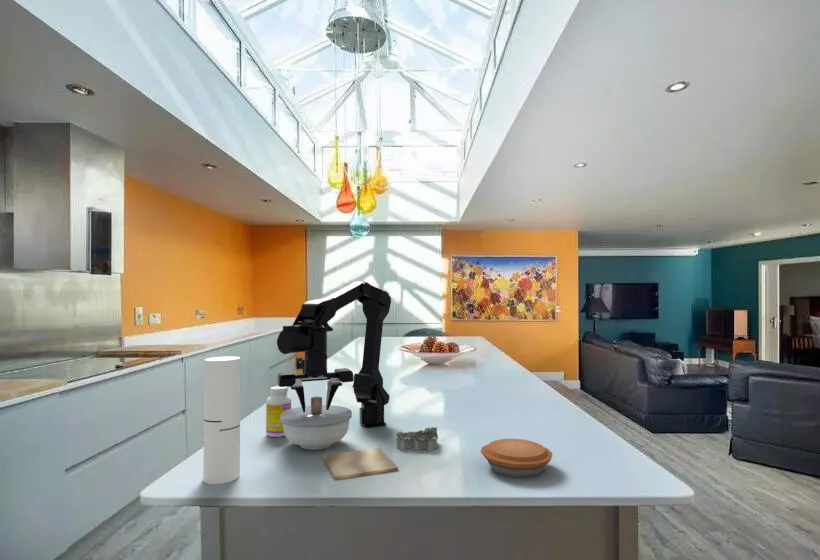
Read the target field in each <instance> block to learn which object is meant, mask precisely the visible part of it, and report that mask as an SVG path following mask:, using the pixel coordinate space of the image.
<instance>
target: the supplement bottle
mask: <svg viewBox="0 0 820 560" xmlns="http://www.w3.org/2000/svg"><path fill="white" fill-rule="evenodd" d="M269 389H270V390H269V393H270V396H268V398H266V411H265V412H266V414H265V415H266V417H265V418H266V419H265V421H266V424H265V429H266V430H265V432H266V433H265V434H266V435H267V437H270V438H271V437H272V438H282V436H283V437H286V436H285V435H284V431H283V423H282V422H281V421H280V415H281V414H282V413H283V412H285V411H287V410H290V409H292V398H291V396H289V395H288V391H289V390H288V389H289V387H279V385H276V386H271V387H270V388H269Z"/></svg>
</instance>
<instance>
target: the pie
mask: <svg viewBox="0 0 820 560" xmlns="http://www.w3.org/2000/svg"><path fill="white" fill-rule="evenodd" d="M479 452H480V453H481V455H483V457H484V458H485V460H486V462H487V463H488V464H489V467H491V469H492V470H493V471H495V472H496V473H498V474H501V475H503V476H506V477H512V478H533V477H536V476H538V475H541V474H542V473H543V472H544V470H545V468H546V466H547V465H548V464H549V462H551V460H552V458H553V452H552V451H551V450H550V449H549V448H547V447H544V446H543V445H542V444H540V443H538V442H535V441H533V440H532V441H531V440H527V439H520V438H501V439H500V438H499V439H495V440H493V441H491V442H490V443H489V442H488V443H487V444H485V445H484V446H482V447H481V449H480V451H479Z"/></svg>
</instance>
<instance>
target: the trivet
mask: <svg viewBox="0 0 820 560" xmlns="http://www.w3.org/2000/svg"><path fill="white" fill-rule="evenodd" d="M322 460H323V461H324V463H325V465H326V466H327V468H328V470H329V472H330V474H331V476H332V477H333V479H334V480H342V479H348V478H354V477H360V476H361V477H363V476H369V475H375V474H383V473H389V472H397V471H399V466H398V465H397V464H396V463H395V462H394V461H393V460H392V459H391V458H390V456H388V454H386V453H385V452H384V451H383V449H381V448H380V447H376V448H367V449H359V450H351V451H343V452H337V453H329V454H323V455H322Z"/></svg>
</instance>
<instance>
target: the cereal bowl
mask: <svg viewBox="0 0 820 560" xmlns="http://www.w3.org/2000/svg"><path fill="white" fill-rule="evenodd" d="M349 426H350V419H349V420H347V421H345V422H343V423H339V424H335V425H330V426H323V427H295V426H289V425H286V424H283V431H284V435H285V436H284V437H285V438H286V439H287V440H288V441H290V442H291V443H292V444H294V445H297V446H300V448H301V449H304V450H308V449H309V450H310V451H311V450H312V451H313V450H314V451H317V450H322V449H327V448H329V447H330V446H332V445H333V444H336V443H338V442H339V441H341V440H342V439H343V438H344V437H345V436H346V435H347V433H348V430H349ZM309 450H308V451H309Z"/></svg>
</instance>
